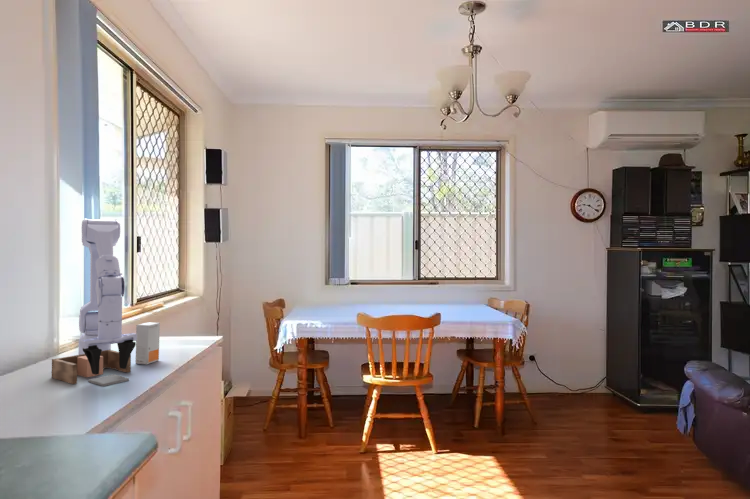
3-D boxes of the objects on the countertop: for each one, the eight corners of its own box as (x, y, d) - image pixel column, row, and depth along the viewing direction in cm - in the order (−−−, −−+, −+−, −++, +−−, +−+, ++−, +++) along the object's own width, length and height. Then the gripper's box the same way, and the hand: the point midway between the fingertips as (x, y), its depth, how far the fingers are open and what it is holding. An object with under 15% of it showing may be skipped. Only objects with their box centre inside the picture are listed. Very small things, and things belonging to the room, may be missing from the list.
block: (77, 374, 144) (77, 356, 144) (93, 371, 148) (93, 354, 148) (86, 377, 141) (87, 359, 141) (103, 374, 145) (103, 356, 145)
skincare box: (147, 364, 157) (148, 325, 156) (135, 364, 157) (135, 324, 157) (159, 360, 163) (160, 322, 162) (147, 359, 163) (148, 321, 163)
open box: (51, 377, 140) (51, 359, 140) (108, 366, 154) (109, 349, 154) (72, 384, 134) (73, 365, 134) (130, 371, 148) (130, 354, 148)
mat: (88, 381, 137) (88, 379, 137) (114, 376, 143) (114, 374, 143) (103, 386, 133) (103, 383, 133) (128, 380, 139) (128, 378, 139)
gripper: (91, 325, 131) (90, 378, 131) (143, 319, 143) (143, 367, 143) (76, 322, 135) (75, 374, 135) (128, 316, 147) (128, 364, 147)
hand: (109, 371), depth 139 cm, fingers open, 7 cm apart
